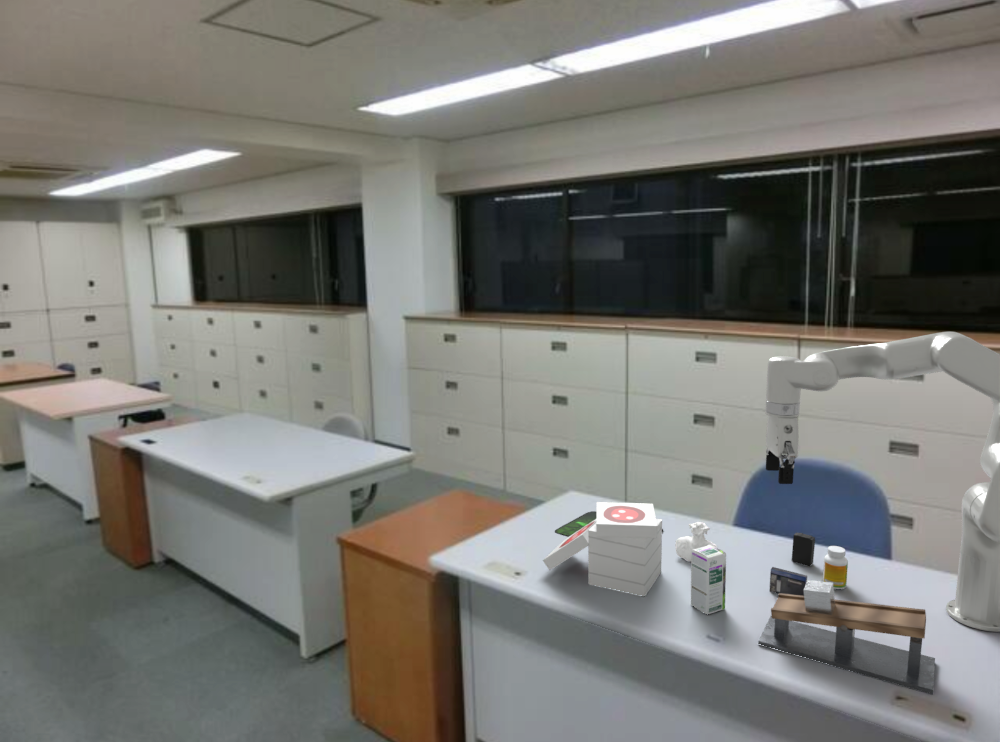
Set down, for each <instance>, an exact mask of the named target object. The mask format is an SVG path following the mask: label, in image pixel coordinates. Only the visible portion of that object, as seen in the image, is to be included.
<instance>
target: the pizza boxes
mask: <svg viewBox="0 0 1000 742" xmlns="http://www.w3.org/2000/svg"><path fill="white" fill-rule="evenodd" d="M596 512H597V519H595V520H594V521H592V522H591V523H589V524H588V525H586V526H584V527H583V528H581V529H580V530H578V531H577V532H575V533H574V534H572V535H571V536H569V537H567V538H565V539H563V541H562V542H560V543H559V544H558V545H557V546H555V548H554V549H553V550H552V551H551V552H550V553H549V554H548V555H546V556H545V557H544V559H542V561H543V563H544V565H545V566H546V567H547V569H548V571H551V570H552V569H554V568H556V567H557V566H559V565H561V564H562V563H564V562H565V561H567V560H569V558H572V557H573V556H574V555H576V554H578V553H580V552H581V551H582V550H584V549H586V548H588V551H587V552H588V560H587V561H588V565H587V566H588V568H587V569H588V571H587V573H588V574H587V575H588V581H587V582H588V585H589V584H590V585H589V586H593V585H596V586H595V587H598V586H600V587H599V588H602V587H606V588H611V589H616V590H620V591H624V592H629V593H633V594H637V595H642V596H645V595H646V596H647V595H648V593H649V591H650V590H651V588H652V587H653V585H654V584H655V582H656V581H657V579H658V578H659V577H660V575H661V573H662V556H663V555H662V554H663V553H662V550H663V548H662V547H663V546H662V545H663V532H662V529H663V519H662V518H656V513H655V512H656V511H655V507H654V503H649V502H648V503H643V502H642V503H641V502H639V503H638V502H637V503H636V502H612V501H611V502H606V501H603V502H602V501H601V502H600V501H596ZM606 588H605V589H606ZM611 589H610V590H611ZM620 591H619V592H620ZM624 592H623V593H624ZM647 592H648V593H647ZM633 594H632V595H633ZM637 595H636V596H637ZM646 596H645V597H646Z"/></svg>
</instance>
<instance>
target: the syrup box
mask: <svg viewBox="0 0 1000 742" xmlns="http://www.w3.org/2000/svg"><path fill="white" fill-rule="evenodd" d="M690 566H691V567H690V572H691V573H690V606H692V607H693V606H694V608H695V609H696V608H697V609H696V610H698V609H699V610H700V611H699V610H698V611H699V612H701V611H702V612H701V613H703V612H704V613H705V614H704V613H703V614H704V615H706V614H707V616H709V615H711V614H714V613H717V612H719V611H723V610H725V609H726V581H727V579H726V573H727V553H726V552H725V551H724V550H723V549H720V548H719V547H718V548H716V547H714V546H711V545H707V546H705V547H701V548H697V549H693V550H691V562H690ZM708 614H709V615H708Z"/></svg>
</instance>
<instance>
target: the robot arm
mask: <svg viewBox="0 0 1000 742" xmlns="http://www.w3.org/2000/svg"><path fill="white" fill-rule="evenodd" d="M941 372H943V373H945V374H947V375H948V376H950V377H952V378H953V379H955V380H957V381H958V382H960V383H962V384H963V385H966V386H967V387H969V388H971V389H974V390H975V391H977V392H979V393H981V394H983V395H985V396H987V397H988V398H990V401H991V402H992V403H991V404H992V417H991V422H990V425H989V428H988V432H987V436H986V438H985V442H984V445H983V448H982V450H981V453H980V458H979V464H980V467H981V469H982V471H983V473H985V474H986V475H987V477H988V478H989V479H990V481H988V482H986V481H984V482H978V483H975V484H973V485H972V486H970V487H969V488H968V489H967V490H966V491H965V493H964V495H963V496H962V500H961V539H960V540H961V542H960V549H959V559H958V570H957V579H956V589H955V599H953V600H950V601H948V602H947V604H946V608H945V610H946V612H947V614H948V615H949V616H950V617H951V618H952V619H953V620H955V621H957V622H958V623H961V624H962V625H965V626H967V627H970V628H973V629H976V630H981V631H986V632H993V633H995V632H996V633H998V632H999V633H1000V353H998V352H996V351H995V350H993V349H990V348H989V347H987V346H985V345H983V344H981V343H980V342H978V341H976V340H974V339H973V338H971V337H968V336H967V335H964V334H962V333H959V332H956V331H942V332H936V333H930V334H925V335H919V336H915V337H910V338H903V339H897V340H892V341H888V342H887V341H886V342H885V341H884V342H881V343H880V342H879V343H870V344H865V345H858V346H857V345H855V346H848V347H842V348H841V347H840V348H837V349H835V348H834V349H831V350H826V351H820V352H815V353H812V354H810V355H808V356H807V357H805V358H804V360H801V359H800V358H798V357H795V356H790V355H789V356H787V355H777V356H773V357H771V358H769V360H768V362H767V373H766V389H765V390H766V392H765V393H766V394H765V411H764V412H765V415H767V423H766V432H765V434H766V435H765V446H766V450H765V452H766V454H765V455H766V457H765V470H766V471H769V472H770V471H771V472H773V471H775V472H776V471H777V472H778V478H777V479H778V480H777V483H778V484H780V485H792V484H793V483H794V470H795V463H796V461H795V459H796V458H798V456H799V422H798V420H799V419H798V417H800V408H801V407H800V406H801V390H807V391H812V392H828V391H830V390H832V389H833V388H835V387H836V386H837V384H838V383H839V380H844V379H851V378H852V379H853V378H872V379H878V380H883V381H884V380H892V381H893V380H900V379H904V378H910V377H916V376H921V375H927V374H929V375H930V374H935V373H941Z"/></svg>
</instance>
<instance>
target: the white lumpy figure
mask: <svg viewBox="0 0 1000 742" xmlns="http://www.w3.org/2000/svg"><path fill="white" fill-rule="evenodd" d="M688 527H689V529H691V533H692V536H690V535H687V536H681V537H678V538H677V539H676V540H675V553H676V554H677V556H678V557H679V558H681V559H683V560H685V561H686V562H688V563H689V562H690V563H691V550H693V549H697V548H701V547H705V546H707V545H711V546H714V547H716V548H718V549H719V547H718V545H717V544H716V543H714V542H712V541H711V540H708V539H706V536H705V535H708V531H710V529H711V528H710V527H709V526H708V525H707V524H706V523H705V522H702V521H696V522H694V523H688Z"/></svg>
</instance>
